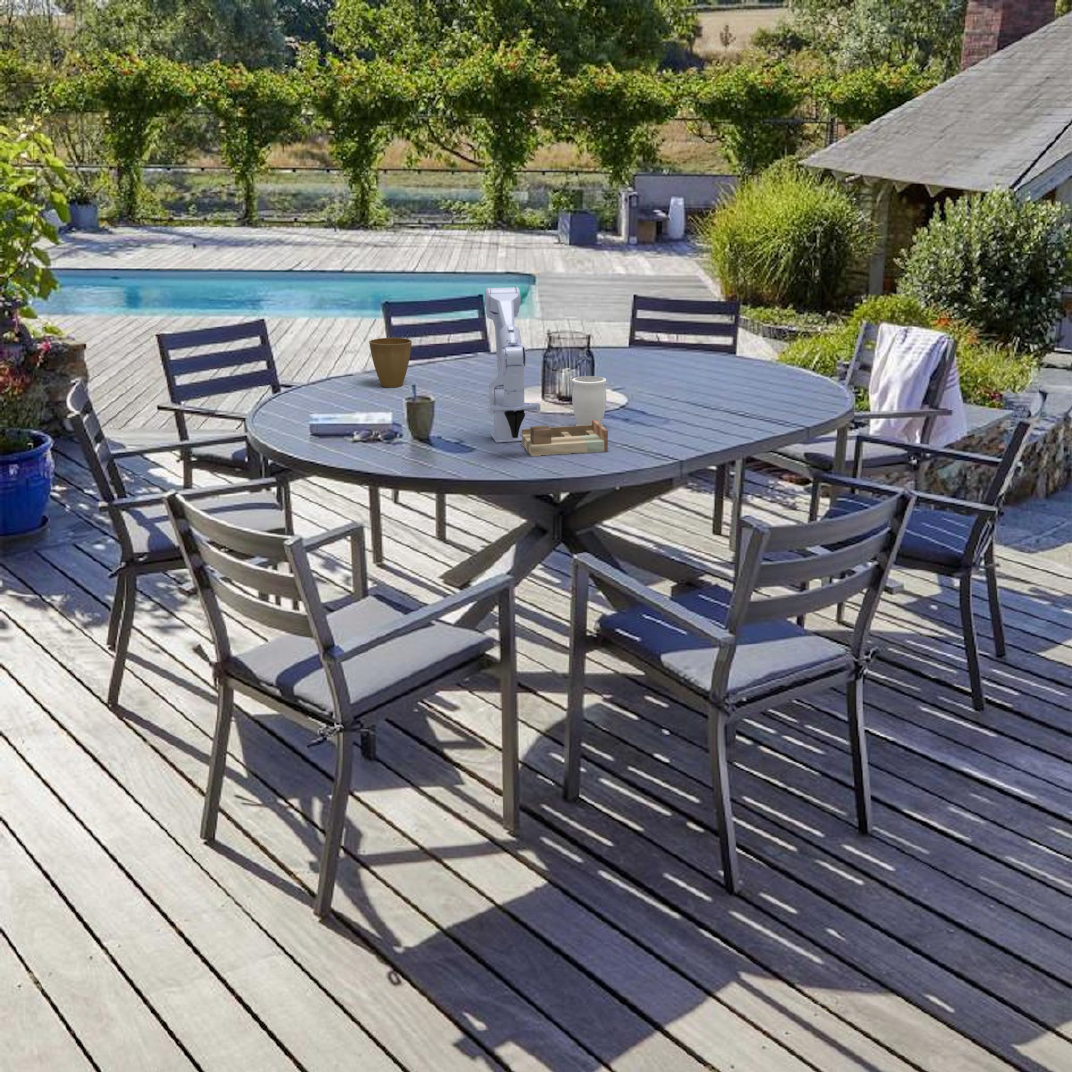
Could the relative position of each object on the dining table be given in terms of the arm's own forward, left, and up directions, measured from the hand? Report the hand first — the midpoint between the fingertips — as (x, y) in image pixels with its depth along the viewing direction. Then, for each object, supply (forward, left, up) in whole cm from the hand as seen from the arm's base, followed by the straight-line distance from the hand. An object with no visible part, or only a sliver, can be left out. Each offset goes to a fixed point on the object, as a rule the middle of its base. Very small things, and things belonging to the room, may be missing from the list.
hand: (514, 437), depth 353 cm
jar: (-25, +28, -5) cm, 38 cm away
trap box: (-3, +15, -5) cm, 16 cm away
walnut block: (0, +8, -2) cm, 8 cm away
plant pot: (-103, -24, -5) cm, 106 cm away
